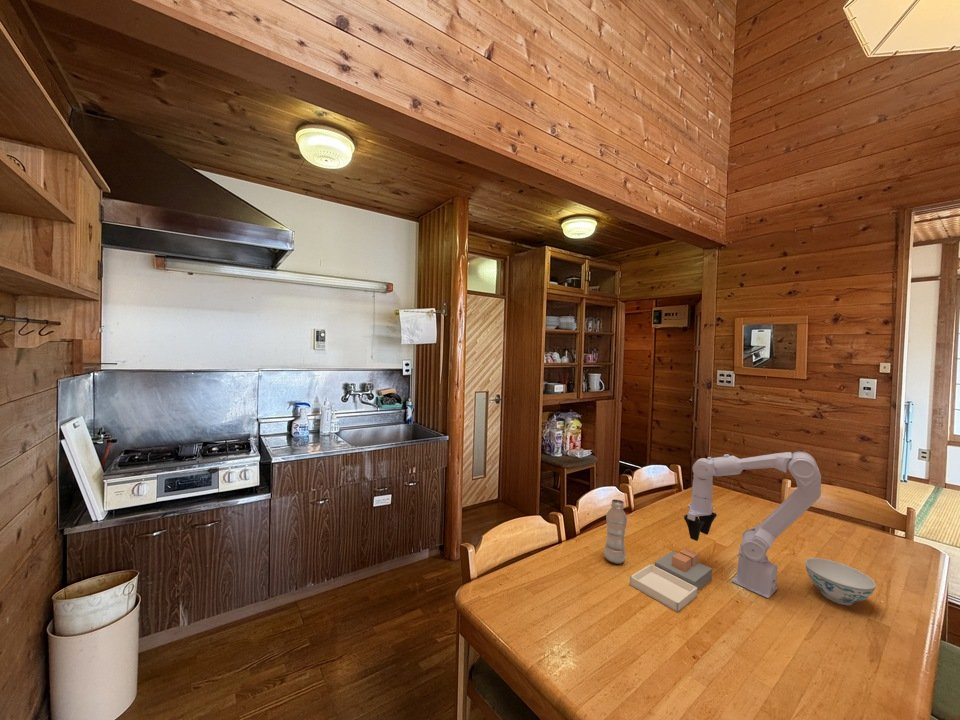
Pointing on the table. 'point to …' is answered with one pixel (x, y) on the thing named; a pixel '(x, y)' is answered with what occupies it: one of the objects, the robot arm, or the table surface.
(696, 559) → the orange brown block
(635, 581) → the tray
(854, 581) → the chinaware
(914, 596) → the table surface
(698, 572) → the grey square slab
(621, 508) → the plastic bottle
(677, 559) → the terracotta block
